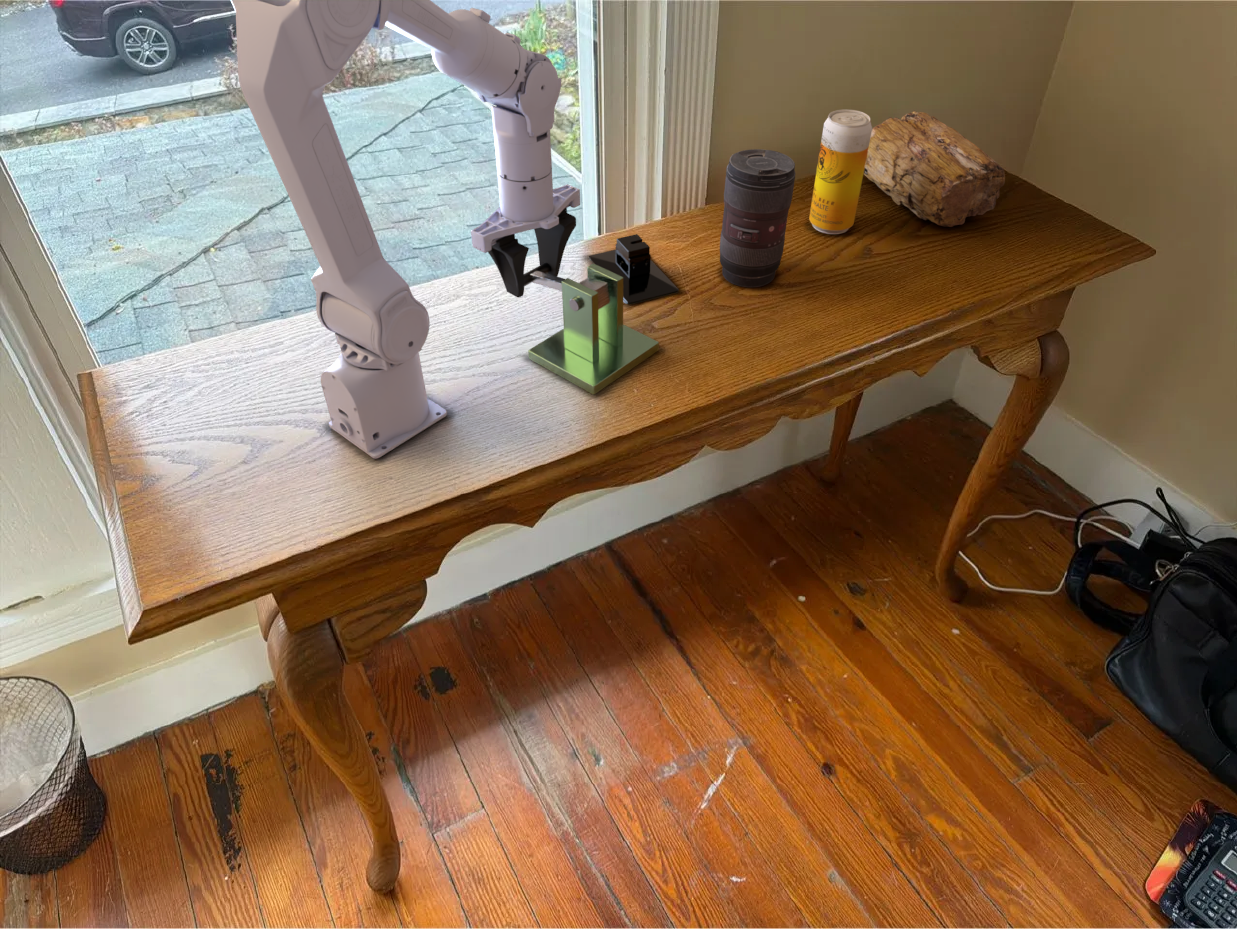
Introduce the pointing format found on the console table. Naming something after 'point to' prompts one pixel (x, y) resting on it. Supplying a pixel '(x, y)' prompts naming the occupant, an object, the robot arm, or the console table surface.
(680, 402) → the console table surface
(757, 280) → the camera lens
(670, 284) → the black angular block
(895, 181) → the petrified wood
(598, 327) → the bracket
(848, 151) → the beer can
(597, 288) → the lever
